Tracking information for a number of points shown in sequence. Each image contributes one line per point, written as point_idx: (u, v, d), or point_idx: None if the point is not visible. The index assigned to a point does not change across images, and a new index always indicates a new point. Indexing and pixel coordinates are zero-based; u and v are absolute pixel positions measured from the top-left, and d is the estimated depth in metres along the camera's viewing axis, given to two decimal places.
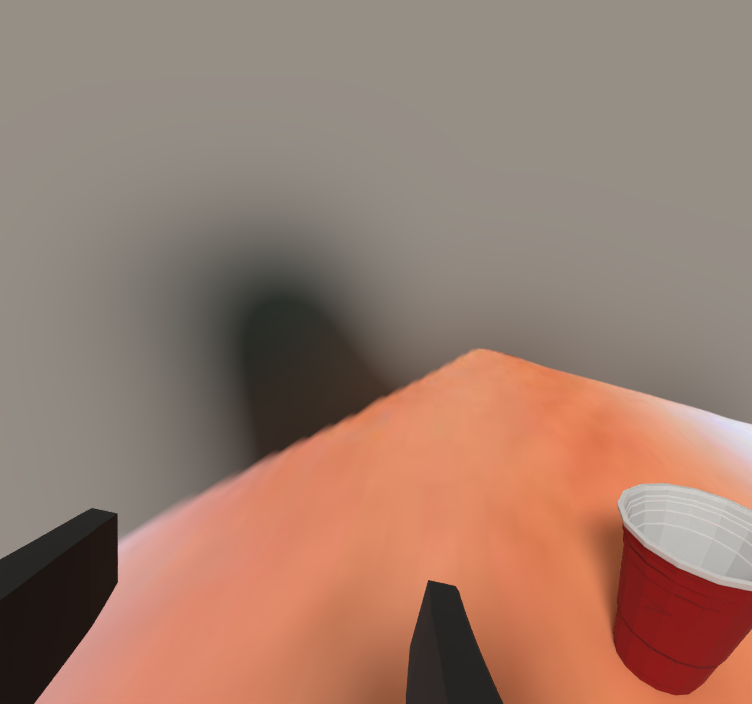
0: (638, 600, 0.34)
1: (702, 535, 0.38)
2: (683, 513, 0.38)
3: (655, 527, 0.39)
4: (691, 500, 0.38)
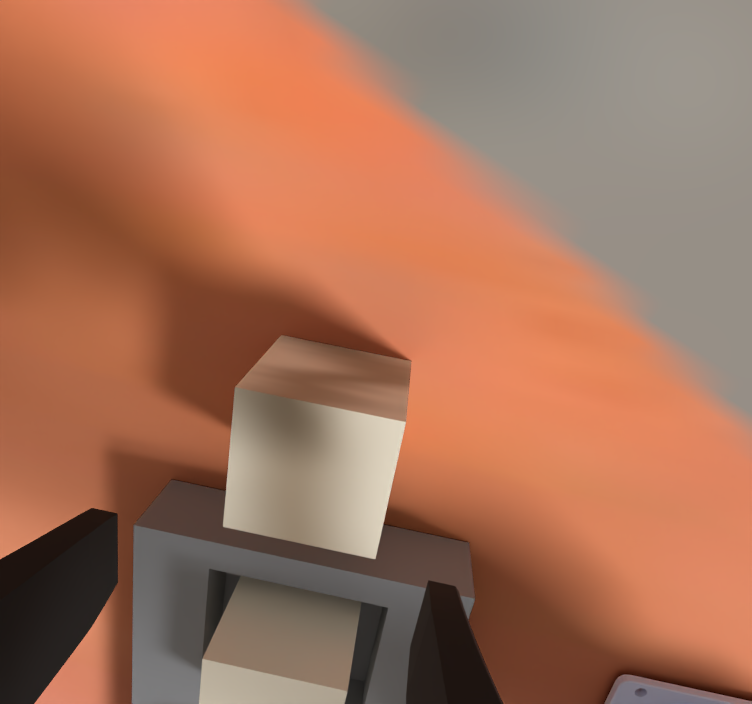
0: None
1: None
2: None
3: None
4: None
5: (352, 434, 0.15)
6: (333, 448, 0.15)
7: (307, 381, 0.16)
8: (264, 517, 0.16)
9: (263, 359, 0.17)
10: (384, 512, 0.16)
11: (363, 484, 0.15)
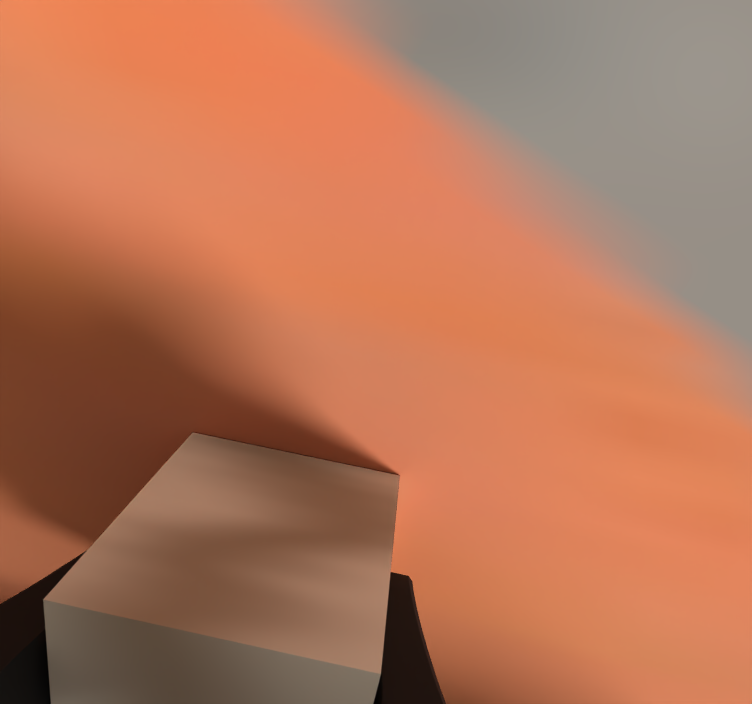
0: None
1: None
2: None
3: None
4: None
5: (278, 686, 0.08)
6: None
7: (204, 559, 0.09)
8: None
9: (137, 502, 0.10)
10: None
11: None
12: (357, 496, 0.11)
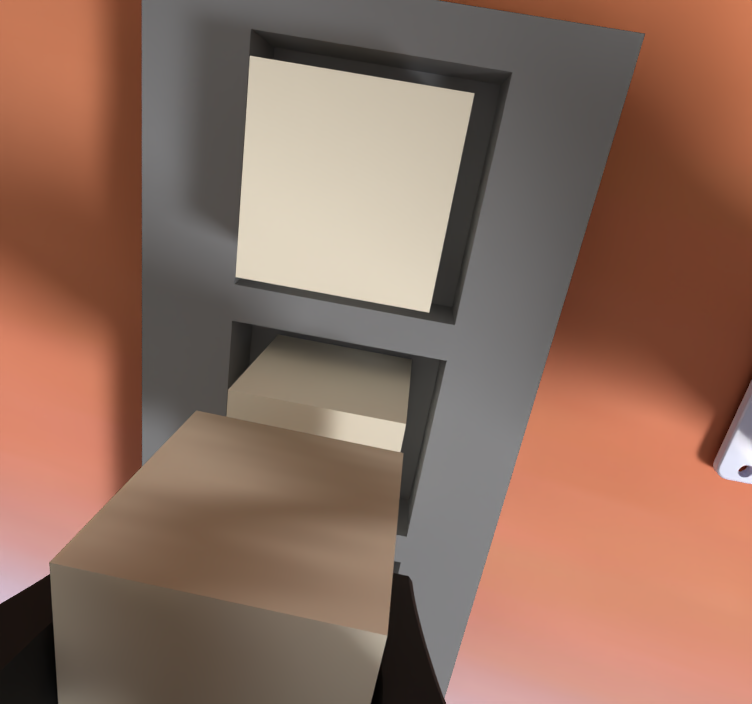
0: None
1: None
2: None
3: None
4: None
5: (283, 650, 0.08)
6: (247, 673, 0.08)
7: (210, 527, 0.09)
8: None
9: (142, 474, 0.10)
10: None
11: None
12: (361, 471, 0.11)
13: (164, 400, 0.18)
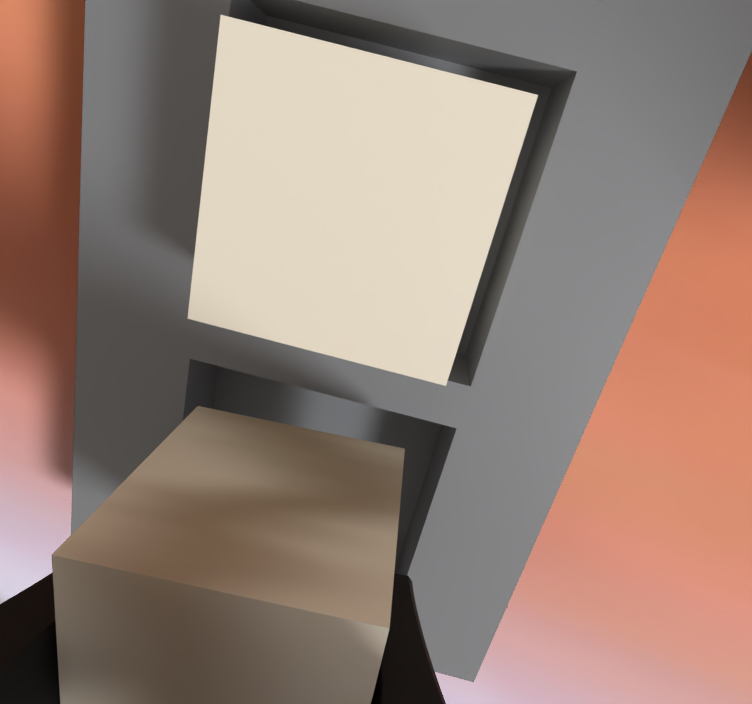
0: None
1: None
2: None
3: None
4: None
5: (286, 643, 0.08)
6: (250, 665, 0.08)
7: (212, 521, 0.09)
8: None
9: (144, 468, 0.10)
10: None
11: None
12: (363, 466, 0.11)
13: (117, 135, 0.11)
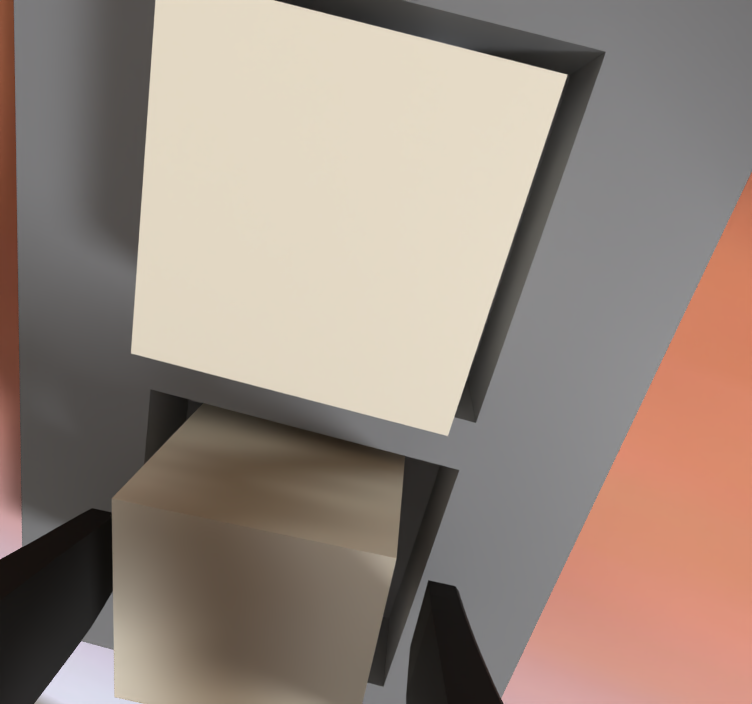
0: None
1: None
2: None
3: None
4: None
5: (309, 573, 0.09)
6: (278, 594, 0.09)
7: (242, 475, 0.10)
8: (176, 687, 0.10)
9: (180, 433, 0.11)
10: (364, 687, 0.10)
11: (329, 648, 0.09)
12: None
13: (57, 130, 0.10)
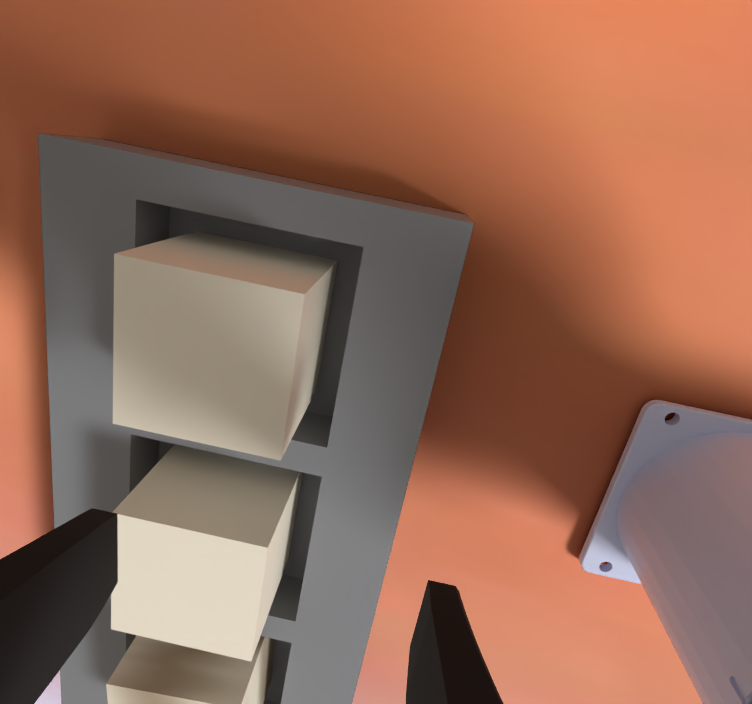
0: None
1: None
2: None
3: None
4: None
5: None
6: None
7: (172, 659, 0.20)
8: None
9: None
10: None
11: None
12: None
13: (73, 497, 0.19)
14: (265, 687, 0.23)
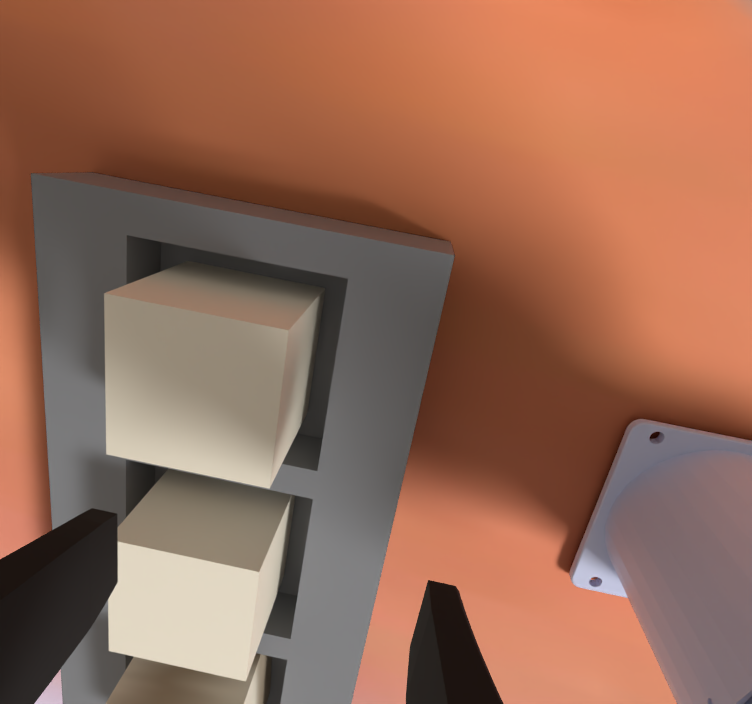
0: None
1: None
2: None
3: None
4: None
5: None
6: None
7: (170, 678, 0.20)
8: None
9: None
10: None
11: None
12: None
13: None
14: (263, 702, 0.24)
